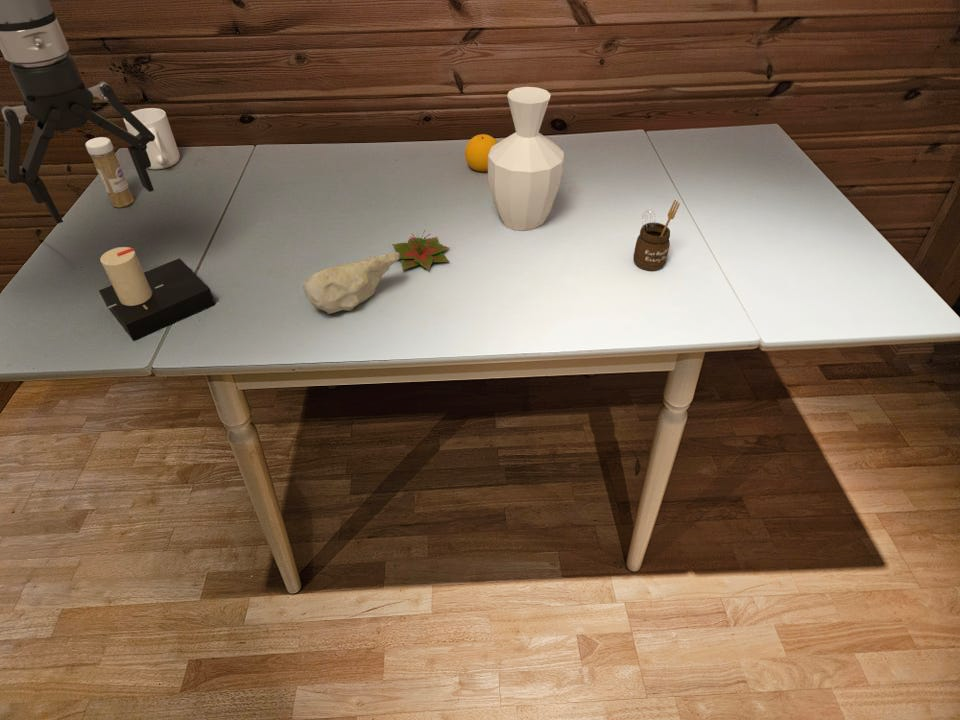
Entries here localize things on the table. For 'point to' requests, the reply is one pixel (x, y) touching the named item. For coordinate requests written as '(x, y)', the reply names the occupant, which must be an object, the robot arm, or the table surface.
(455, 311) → the table surface
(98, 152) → the sprinkles bottle
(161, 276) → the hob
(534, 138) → the vase
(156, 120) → the mug
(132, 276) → the hob knob
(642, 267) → the utensil holder
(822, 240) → the table surface
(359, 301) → the chicken drumstick
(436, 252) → the lily flower
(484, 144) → the orange fruit
